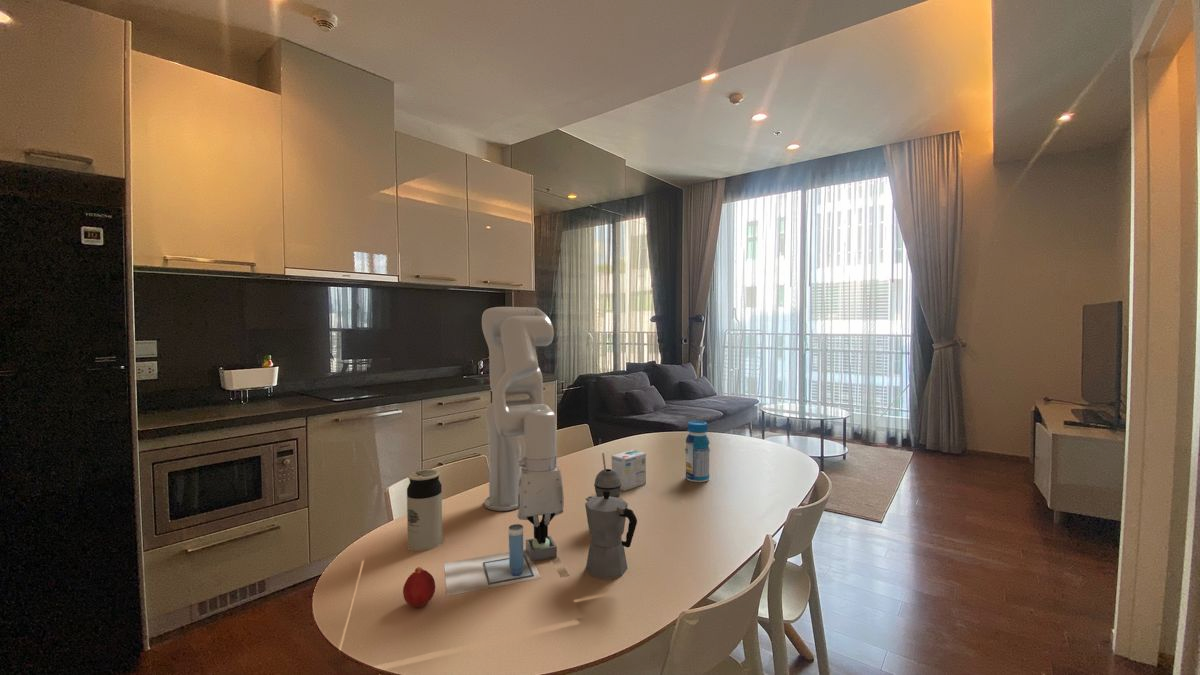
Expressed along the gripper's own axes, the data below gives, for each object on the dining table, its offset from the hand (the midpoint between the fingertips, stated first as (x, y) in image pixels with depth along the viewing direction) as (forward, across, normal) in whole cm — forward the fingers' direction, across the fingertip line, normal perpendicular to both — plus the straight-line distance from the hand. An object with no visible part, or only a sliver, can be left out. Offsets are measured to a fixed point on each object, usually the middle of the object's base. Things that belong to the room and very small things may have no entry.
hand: (540, 540), depth 111 cm
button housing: (+3, 0, 0) cm, 3 cm away
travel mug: (+4, -26, +15) cm, 30 cm away
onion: (+4, -26, -12) cm, 29 cm away
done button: (+3, 0, 0) cm, 3 cm away
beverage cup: (+4, +20, +9) cm, 23 cm away
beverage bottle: (+4, +64, +35) cm, 74 cm away
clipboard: (+4, -10, -4) cm, 11 cm away
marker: (+3, -7, -7) cm, 10 cm away
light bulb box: (+4, +40, +38) cm, 55 cm away
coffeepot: (+4, +12, -13) cm, 18 cm away
